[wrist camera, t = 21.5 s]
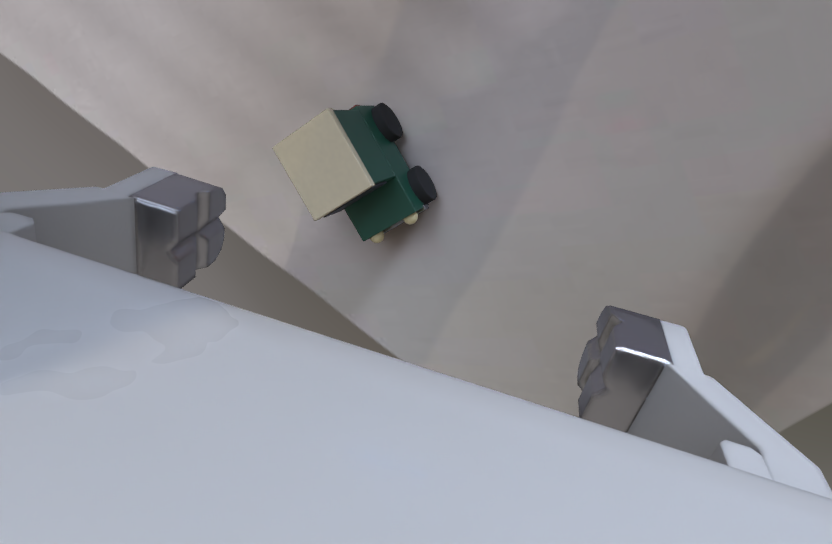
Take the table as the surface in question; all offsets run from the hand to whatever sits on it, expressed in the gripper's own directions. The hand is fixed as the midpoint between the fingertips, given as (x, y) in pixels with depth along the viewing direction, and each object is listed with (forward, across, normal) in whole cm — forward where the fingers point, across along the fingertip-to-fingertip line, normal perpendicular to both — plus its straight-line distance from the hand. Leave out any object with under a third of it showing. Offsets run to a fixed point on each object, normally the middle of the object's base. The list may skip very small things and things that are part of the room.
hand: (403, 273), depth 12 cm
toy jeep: (+28, +7, +8) cm, 30 cm away
